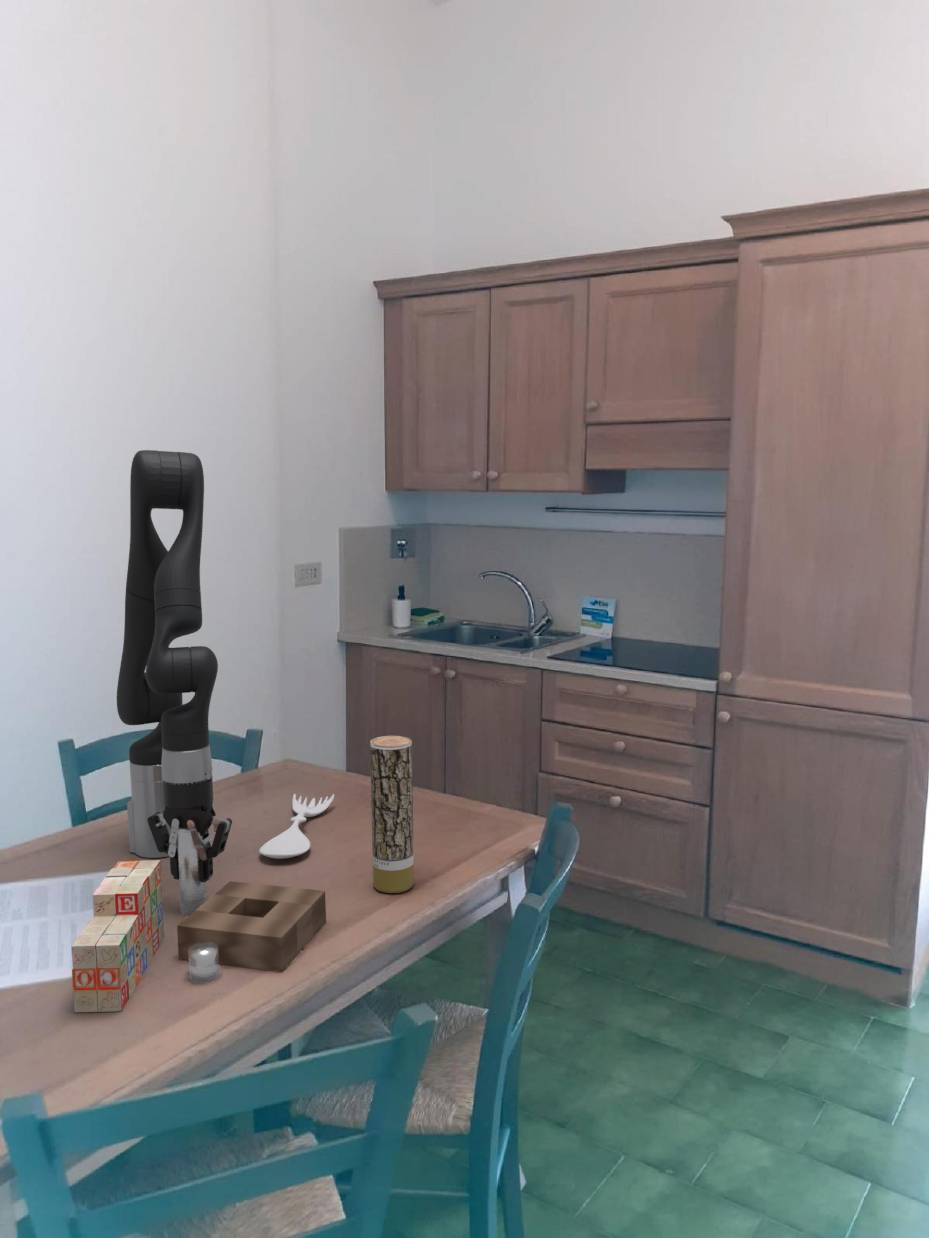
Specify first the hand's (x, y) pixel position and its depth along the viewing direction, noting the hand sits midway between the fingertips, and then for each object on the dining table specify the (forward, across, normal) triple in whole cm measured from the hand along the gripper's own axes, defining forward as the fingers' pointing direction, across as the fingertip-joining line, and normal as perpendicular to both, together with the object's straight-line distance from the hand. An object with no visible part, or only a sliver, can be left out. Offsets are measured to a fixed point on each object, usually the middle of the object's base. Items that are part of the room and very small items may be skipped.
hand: (192, 878), depth 158 cm
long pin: (+5, 0, 0) cm, 5 cm away
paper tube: (+5, +28, +16) cm, 33 cm away
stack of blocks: (+6, 0, -20) cm, 21 cm away
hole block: (+5, +14, -7) cm, 17 cm away
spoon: (+6, +2, +35) cm, 36 cm away
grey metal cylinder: (+5, +12, -18) cm, 23 cm away
